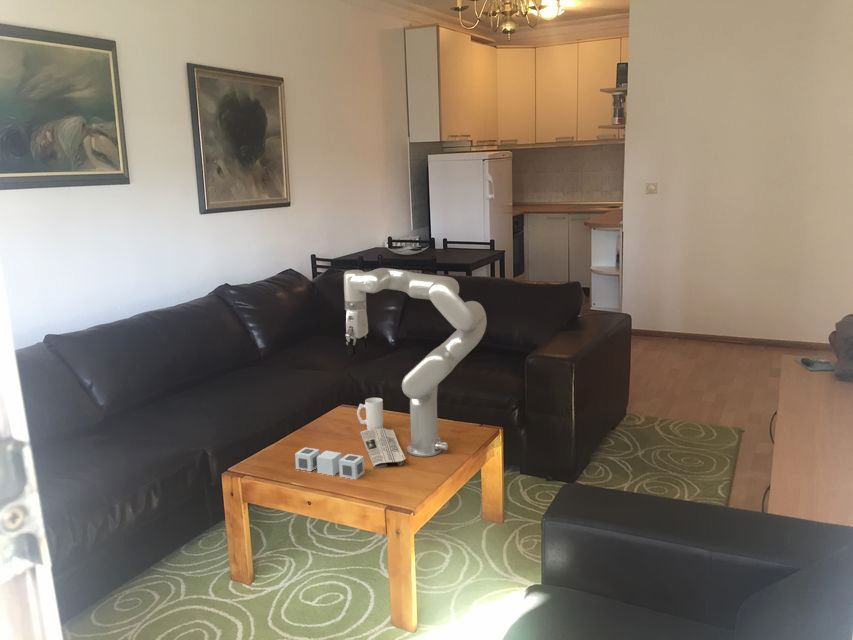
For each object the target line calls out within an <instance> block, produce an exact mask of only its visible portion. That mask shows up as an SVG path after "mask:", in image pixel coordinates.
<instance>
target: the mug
mask: <svg viewBox="0 0 853 640" xmlns="http://www.w3.org/2000/svg"><path fill="white" fill-rule="evenodd" d="M383 401H384V400H383V398H380V397H369V398H366V399H365V400H364V402H365V403H364V404H363V403H359V405H358V407H357V411H356V416H357V418H358V421H359V422H360V424H361V425H366V430H369V429H380V428H384V407H383V406H384V403H383ZM362 409H365V419H363V418H362V417H361V410H362Z"/></svg>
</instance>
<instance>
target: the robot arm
mask: <svg viewBox="0 0 853 640" xmlns="http://www.w3.org/2000/svg"><path fill="white" fill-rule="evenodd" d="M385 289H386V290H393V291H401V292H404V293H406V294H407V295H408V296H409V297H410V298H413V299H419V300H420V299H421V300H430V301H431V303H432V304H433V306H434V307H435V308H436V310H438V311H439V313H440V314H441V315H442V316H443V317H444V318H445V320H447V322H448V323H450V325H451V326H452V327H453V328H454V329H456V331H454V332H453V333H452V334H451V335H450V336H449V337H448V338H447V339H446V340H445V341H443V343H441V344H440V345H439V346H437V347H435V348H434V349H433V350H432V351H430V352H429V353H428V354H427V355H426V356H425V357H424V358H423V359H422V360H421V361H419V363H417V364H416V365H415V366H414V367H413V368H412V369H411V370H409V372H408V373H407V374H405V376H404V377H403V379H402V381H401V389H402V392H403V394H404V395H405V396H406V397H408V398H409V414H410V415H409V417H410V418H409V419H410V443H409V445H407V447H406V451H407V454H410V455H411V456H415V457H423V458H424V457H432V456H436V455H438V454H441V452H442V451H443V450H444V451H447V450H449V445H448V442H445V441H442V440H441V437H439V436H438V434H439V433H438V387H439V384H440V383H442V381H443V380H444V379H445V378H446V377H448V375H449V374H451V372H452V371H454V368H455V367H456V366H457V365H458V364H459V363H460V362H461V361H462V360H463V359H464V358H465V357H466V356H467V355H468V354H469V353H470V352H471V351H472V350H473V349H475V347H476V346H477V345H478V344H479V342H480V341H481V340H482V338H483V336H484V334H485V332H486V328H487V322H488V321H487V319H488V318H487V314H486V311H485V308H484V307H483V306H482V304H481V303H480V302H478V301H475V300H470V301H469V300H468V301H464V300H463V299H462V298H461V297H460V295H459V293H460V285H459V283H458V281H457V280H456V279H455V278H454V277H450V276H447V275H445V276H444V275H438V274H437V275H436V274H435V275H434V274H427V273H417V272H413V271H408V270H404V269H399V268H398V269H395V268H387V267H379V268H376V269H373V270H370V271H364V270H361V269H351V270H345V271H344V273H343V293H344V310H345V311H346V314H345V319H346V320H345V330H346V331H345V332H346V333H345V340H346V347H347V348H346V349H347V350H346V351H347V356H348V357H349V356H350V357H351V356H352V357H356V356H357V353H358V352H357V349H358V350H367V348H368V347H367V338H368V337H367V334H368V333H369V324H368V323H369V322H368V315H367V293H369V294H376V293H378V292H381V291H383V290H385ZM356 343H357V344H356Z"/></svg>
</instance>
